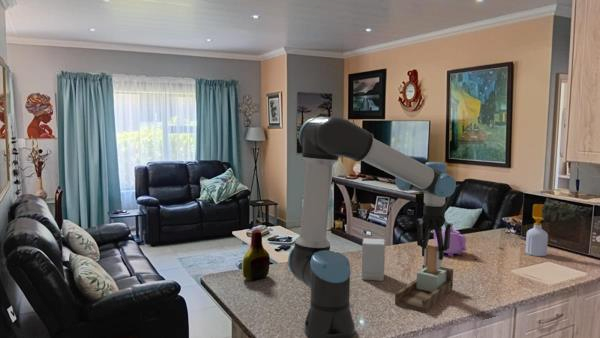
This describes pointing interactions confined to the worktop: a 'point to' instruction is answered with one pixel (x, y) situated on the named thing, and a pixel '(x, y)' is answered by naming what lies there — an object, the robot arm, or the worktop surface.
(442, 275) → the socket block
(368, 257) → the supplement box
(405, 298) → the brown long open box
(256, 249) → the bottle
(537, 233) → the soap bottle
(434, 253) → the dowel
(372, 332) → the worktop surface
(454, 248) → the teapot
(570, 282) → the worktop surface
